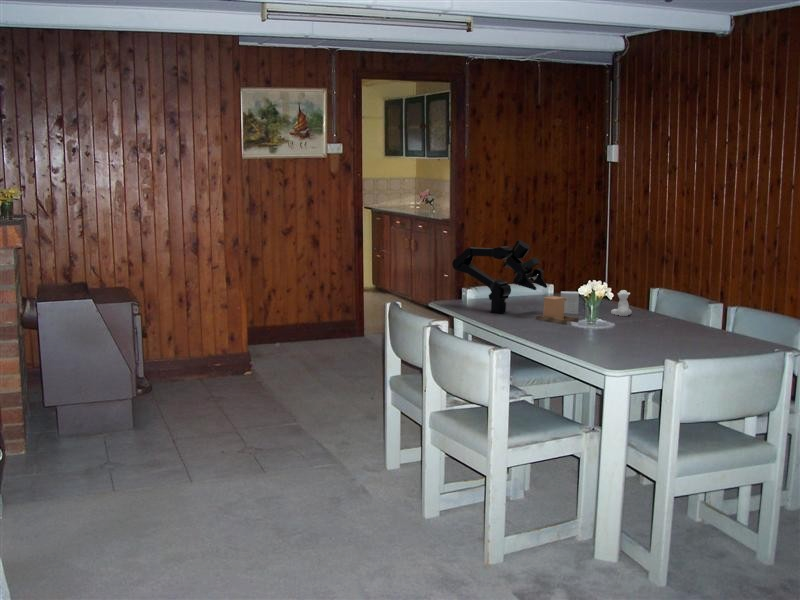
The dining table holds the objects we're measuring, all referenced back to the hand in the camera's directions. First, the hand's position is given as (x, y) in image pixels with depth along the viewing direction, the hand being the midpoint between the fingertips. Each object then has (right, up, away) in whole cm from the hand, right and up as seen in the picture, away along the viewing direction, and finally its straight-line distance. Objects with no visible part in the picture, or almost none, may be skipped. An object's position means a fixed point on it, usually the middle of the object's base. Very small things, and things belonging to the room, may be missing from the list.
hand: (541, 288), depth 392 cm
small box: (+15, -12, +13) cm, 23 cm away
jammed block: (+4, -14, -7) cm, 16 cm away
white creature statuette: (+40, -13, +13) cm, 44 cm away
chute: (+6, -15, -9) cm, 19 cm away
